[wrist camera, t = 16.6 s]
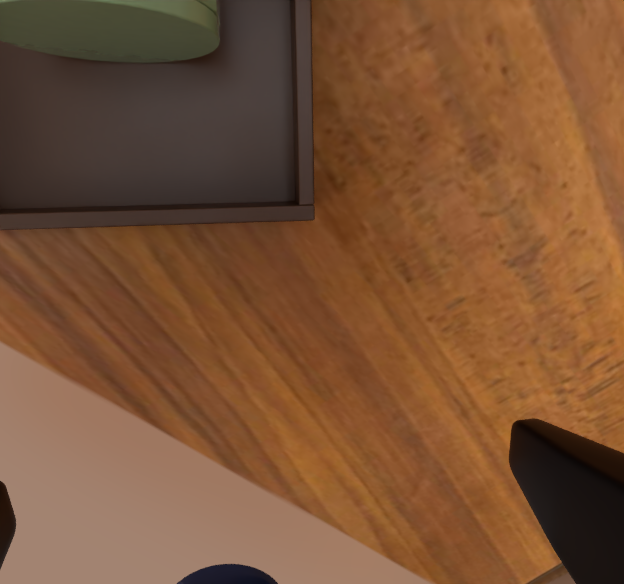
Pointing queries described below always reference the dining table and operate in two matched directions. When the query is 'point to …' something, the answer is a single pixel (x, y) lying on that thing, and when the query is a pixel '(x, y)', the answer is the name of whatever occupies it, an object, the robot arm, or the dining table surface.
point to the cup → (113, 28)
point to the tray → (164, 130)
